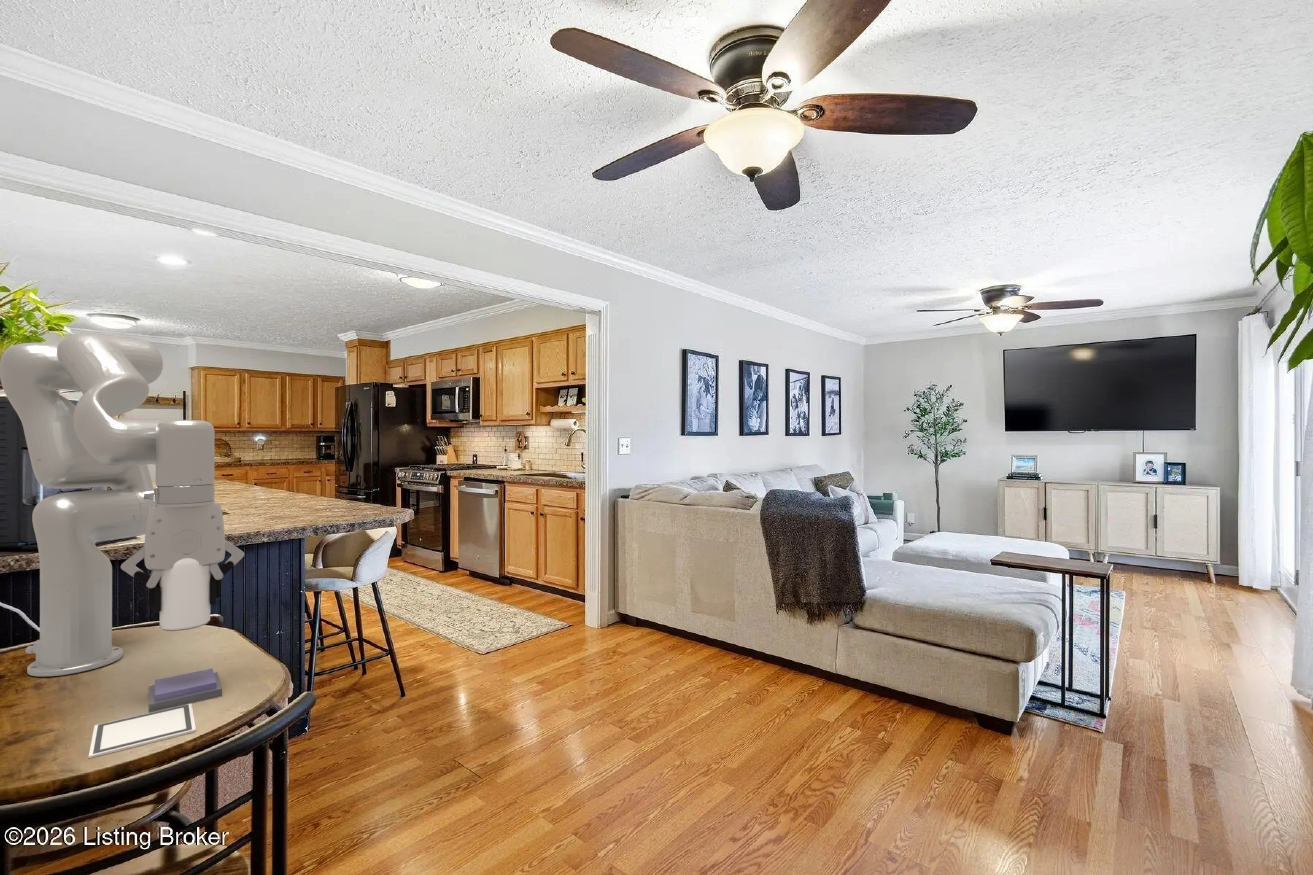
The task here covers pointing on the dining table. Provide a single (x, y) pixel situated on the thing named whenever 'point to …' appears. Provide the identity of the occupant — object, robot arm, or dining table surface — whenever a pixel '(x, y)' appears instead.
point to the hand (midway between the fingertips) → (185, 605)
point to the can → (185, 596)
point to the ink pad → (184, 689)
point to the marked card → (141, 730)
